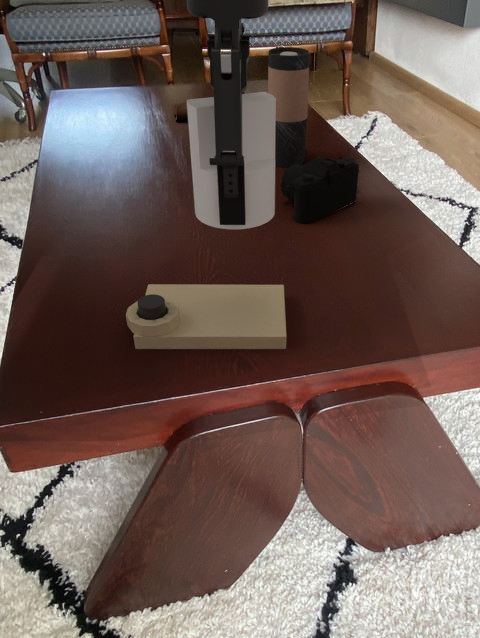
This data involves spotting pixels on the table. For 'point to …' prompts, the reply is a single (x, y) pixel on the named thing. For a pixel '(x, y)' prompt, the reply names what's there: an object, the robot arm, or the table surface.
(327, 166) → the film camera
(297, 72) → the travel mug
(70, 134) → the table surface
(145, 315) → the button
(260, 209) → the base with upright slab
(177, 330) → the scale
